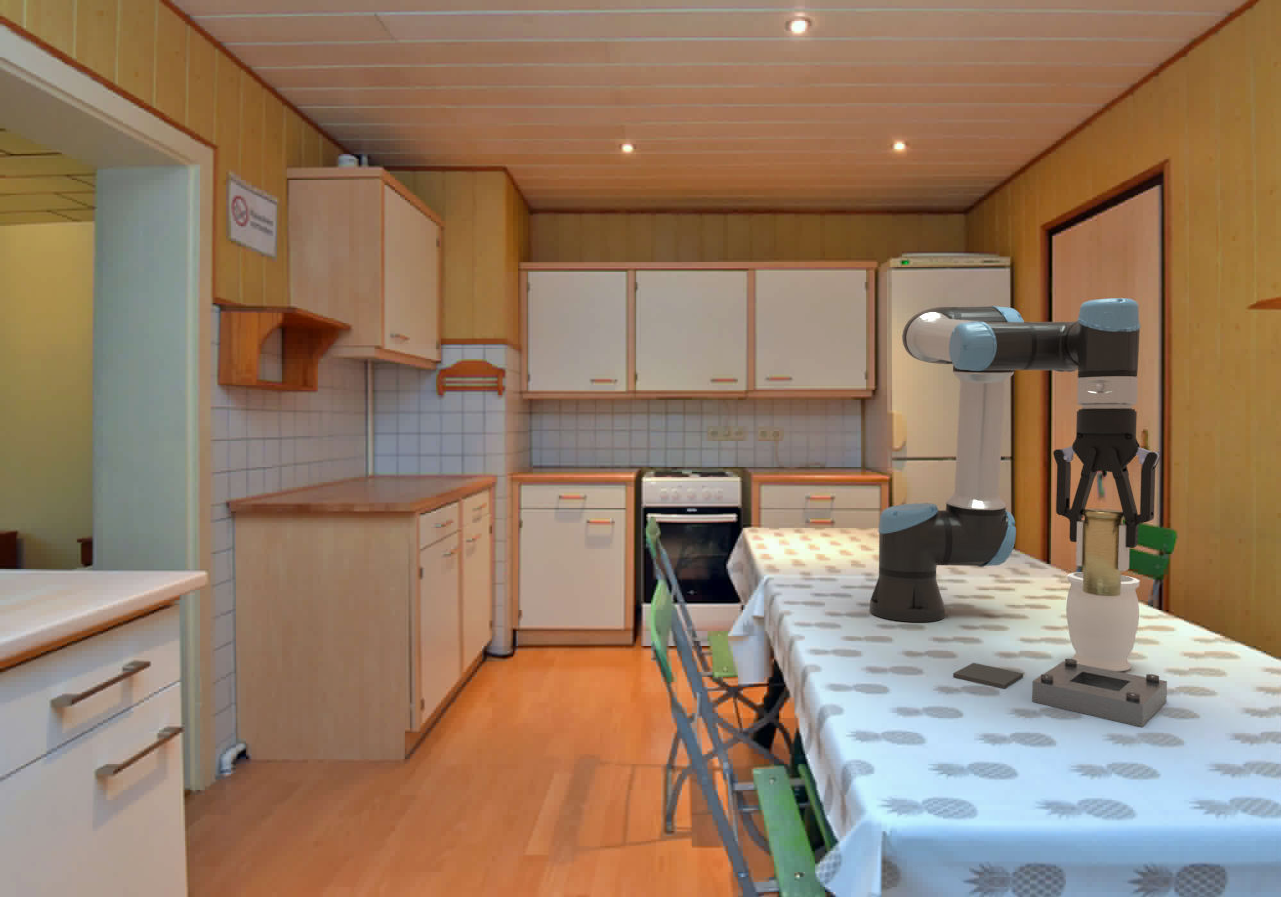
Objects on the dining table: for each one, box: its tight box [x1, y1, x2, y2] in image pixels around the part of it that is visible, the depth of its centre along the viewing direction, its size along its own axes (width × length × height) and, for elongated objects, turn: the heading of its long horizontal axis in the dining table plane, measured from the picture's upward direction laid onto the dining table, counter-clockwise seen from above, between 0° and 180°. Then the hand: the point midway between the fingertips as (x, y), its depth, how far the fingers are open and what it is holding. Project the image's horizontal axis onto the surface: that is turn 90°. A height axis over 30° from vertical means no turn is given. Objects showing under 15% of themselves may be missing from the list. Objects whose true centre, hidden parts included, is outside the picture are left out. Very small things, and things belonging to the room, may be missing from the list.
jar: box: [1065, 571, 1141, 672], centre depth 135 cm, size 11×10×15 cm
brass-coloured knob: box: [1082, 508, 1124, 596], centre depth 117 cm, size 5×5×12 cm
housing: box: [1031, 658, 1168, 728], centre depth 117 cm, size 14×14×4 cm
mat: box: [952, 662, 1024, 690], centre depth 129 cm, size 8×8×1 cm
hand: (1102, 566), depth 117 cm, fingers closed on brass-coloured knob, 5 cm apart
